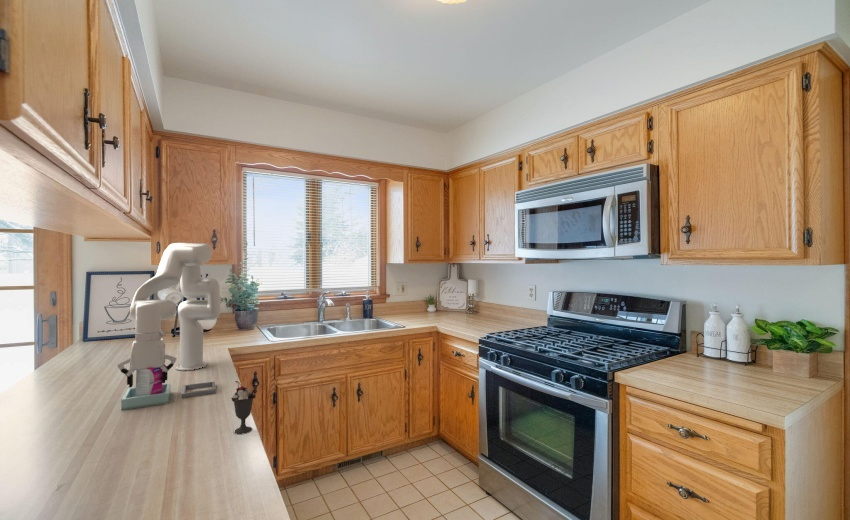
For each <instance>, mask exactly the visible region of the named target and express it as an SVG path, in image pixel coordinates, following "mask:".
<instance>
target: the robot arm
mask: <svg viewBox="0 0 850 520" xmlns="http://www.w3.org/2000/svg"><path fill="white" fill-rule="evenodd" d="M212 256H213V250H212V247H211V245H209V244H208V243H199V242H198V243H197V242H192V243H191V242H174V243H170V244H169V245H168V246H167V248H166V249H165V250H164V251H163V254H162V255H161V259H160V262H159V264H158V268H157V270H156V274H155V275H154V276H153V277H151V278H150V279H147V281H145V282H144V283H143V284H142V285H141V286H140V287H138V289H137V290H136V291H135V293H134V296H133V298H132V300H131V303H130V307H129V314H130V317H131V318H132V319H133V320H135V325H134V326H135V331H134V332H135V335H134V336H135V338H134V340H133V341H132V344H131V349H130V357H129V358H127V359H125V360H123V361H121V362H119V363H118V364H117V368H118V369H119V371H120V372H121V373H122V374H124V376H126V385H128V387H129V388H133V385H134V374H133V373H134V372H135V371H136V370H142V369H149V368H161V369H162V370H163V373H162V384H166V381H168V372H169V370H170V369H171V368H173V367H174V365H175V363H176V361H177V359H178V358H177V357H175V356H171V355H168V354H166V347H165V339H164V338H162V337H166V335H167V333H166V332H163V331H162V321H163V320H165V321H166V320H169V319H172V318H173V317H175V314H176V313H177V315H178V323H179V363H178V364H177V365H175V370H176V371H185V370H186V371H193V370H194V369H195V370H199V368H200V369H203V368H205V367H207V365H208V364H207V363H208V362H206V361H204V329H203V328H204V327H203V325H202V324H201V323H200V321H213V320H217V319H218V318H220V315H221V295H220V294H221V293H220V284H219V281H218V279H216V278H214V277H202V272H201V266H203V265H204V264H207V263H209V261H210V260H211V258H212ZM178 284H179V289H180V295H181V296H182V297H183V298H186V299H187V298H188V299H190V300H185V301H181V302H180V303H179V304H178V306H177V304H176V303H175V302H174V301H173V300H170V299H149V298H150V297H151V296H152V295H154V294H156V293H158V292H161V291H163V290H166V289H168V288H171V287H174V286H176V285H178ZM166 360H168V361H170V363H169V364H168V365H166V364H165V363H166ZM127 364H129V370H128V369H127V368H126V367H125V365H127ZM202 367H203V368H202ZM195 370H194V371H195ZM186 371H185V372H186Z"/></svg>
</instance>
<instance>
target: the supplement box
mask: <svg viewBox="0 0 850 520" xmlns="http://www.w3.org/2000/svg"><path fill="white" fill-rule="evenodd" d="M135 371H136V373H135V376H136V377H135V387H136V395H135V397H139V396H146V395H153V394H161V393H162V384H163V383H162V373H163V370H162V369H161V368H149V369H142V370H135Z"/></svg>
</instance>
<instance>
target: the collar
mask: <svg viewBox="0 0 850 520" xmlns="http://www.w3.org/2000/svg"><path fill="white" fill-rule="evenodd" d="M208 386H209V387H211V388H209V389H201V390H195V391H187V390H192V389H199V388H200V387H201V388H207V387H208ZM216 390H217V388H216V382H215V381H207V382H200V383H193V384H191V383H190V384H184V385H182V390H181V399H184V398H190V397H191V398H192V397H199V396H205V395H212V394H217V391H216ZM186 391H187V392H186ZM198 395H199V396H198Z"/></svg>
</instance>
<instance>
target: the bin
mask: <svg viewBox="0 0 850 520" xmlns="http://www.w3.org/2000/svg"><path fill="white" fill-rule="evenodd" d="M171 385H172V384H171V382H168V383H166V382H165V383H162V393H161V394H153V395H146V396H139V397H135V395H136V386H135V387H131V388H127V389H126V391H125V392H124V394H123V396H122V398H121V407H120V408H121V409H120V410H121V411H127V410H133V408H134V409H140V408H139V407H141V408H145V407H146V406H148V407H153V405H154V406H161V405H167V403H168V404H169V401H170V397H171V392H172V391H171V390H172V389H171V388H172V386H171Z"/></svg>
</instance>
